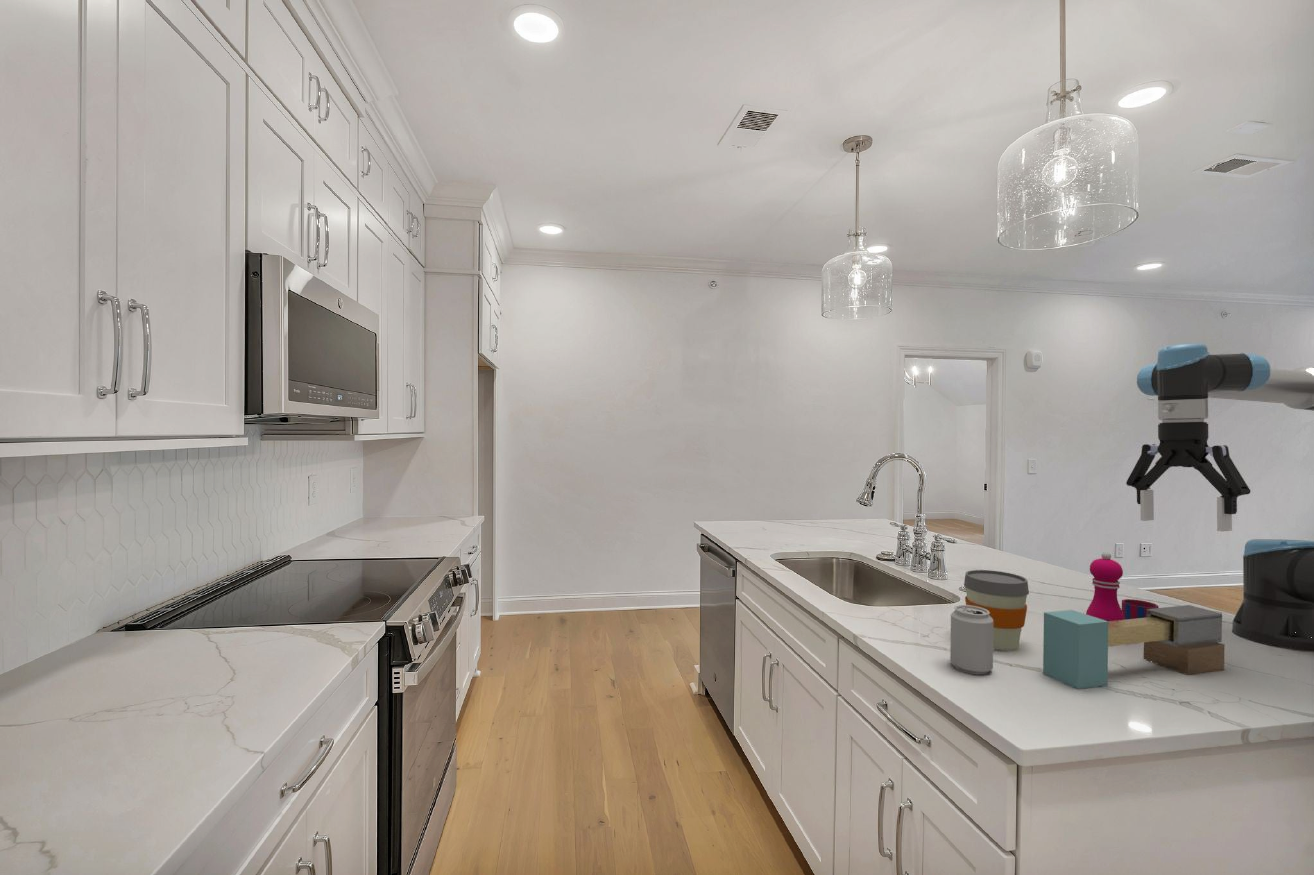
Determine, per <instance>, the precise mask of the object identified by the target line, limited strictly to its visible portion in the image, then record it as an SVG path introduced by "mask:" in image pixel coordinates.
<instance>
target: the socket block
mask: <svg viewBox="0 0 1314 875" xmlns="http://www.w3.org/2000/svg"><path fill="white" fill-rule="evenodd" d="M1108 624H1109V622H1108V621H1105V620H1102V619H1099V618H1096V617H1093V616H1090V615H1086V613H1083V612H1079V611H1076V610H1074V609H1067V610H1066V609H1065V610H1056V611H1055V610H1054V611H1045V612H1043V647H1042V648H1043V652H1042V653H1043V654H1042V655H1043V656H1042V673H1043V674H1044V675H1046V676H1049V677H1051V678H1054V679H1055V680H1057V681H1060V682H1062V683H1063V684H1067V685H1068V686H1070V687H1072V688H1074V689H1078V690H1082V689H1090V688H1096V687H1104V686H1108V684H1109V683H1108V681H1109V680H1108V677H1109V671H1108V670H1109V667H1108V666H1109V647H1108Z"/></svg>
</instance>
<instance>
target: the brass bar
mask: <svg viewBox="0 0 1314 875" xmlns="http://www.w3.org/2000/svg"><path fill="white" fill-rule="evenodd" d="M1108 622H1109V624H1108V648H1109V647H1117V646H1119V647H1120V646H1126V645H1135V644H1144V642H1152V641H1161V640H1169V639H1174V621H1172V620H1169V619H1165V618H1162V617H1158V616H1156V617H1147V618H1137V619H1127V620H1118V621H1108Z"/></svg>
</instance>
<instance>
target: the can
mask: <svg viewBox="0 0 1314 875" xmlns="http://www.w3.org/2000/svg"><path fill="white" fill-rule="evenodd" d="M989 614H990V612H989V611H988V610H986V609H984V608H981V607H977V606H970V605H966V604H959V605H955V606H954V611H952V612H951V613H950V651H949V652H950V654H949V655H950V657H949V658H950V659H949V660H950V662H951V664H952V665H953V666H954V667H955V668H956V669H957V670H958V671H961V672H964V673H968V674H971V675H985V674H988V672H991V671H992V670H993V668H994V649H993V619H992V618H991V617H990V615H989Z"/></svg>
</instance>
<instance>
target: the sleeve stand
mask: <svg viewBox="0 0 1314 875" xmlns="http://www.w3.org/2000/svg"><path fill="white" fill-rule="evenodd" d="M1156 616H1158V617H1162V618H1165V619H1169V620H1172V621H1174V639H1169V640H1161V641H1152V642H1144V643H1143V660H1145V659H1146V660H1145V661H1148V662H1151V661H1152V663H1154V664H1156V663H1157V664H1156V665H1159V666H1162V667H1164V666H1165V668H1168V669H1171V670H1173V671H1176V672H1179V673H1182V674H1184V675H1188V676H1189V675H1190V676H1191V675H1197V674H1205V673H1211V672H1218V671H1225V644H1224V643H1222V638H1223V637H1222V636H1223V631H1222V630H1223V628H1222V627H1223V625H1222V624H1223V613H1221V612H1219V611H1218V612H1217V611H1213V610H1209V609H1207V608H1202V607H1198V606H1194V605H1189V604H1185V605H1177V606H1176V605H1175V606H1166V607H1159V608H1154V609H1147V615H1146V618H1147V617H1156Z"/></svg>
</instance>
